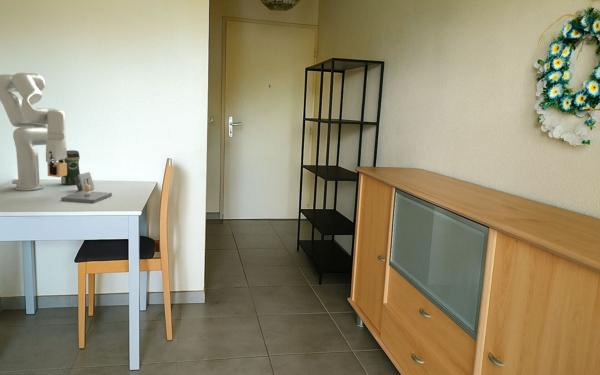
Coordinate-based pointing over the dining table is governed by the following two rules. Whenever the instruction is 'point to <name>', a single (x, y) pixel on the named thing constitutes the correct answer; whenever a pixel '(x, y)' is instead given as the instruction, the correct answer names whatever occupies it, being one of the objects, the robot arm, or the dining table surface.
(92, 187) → the electrical switch
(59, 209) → the dining table surface
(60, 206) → the dining table surface
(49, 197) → the dining table surface
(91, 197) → the plate
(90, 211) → the dining table surface
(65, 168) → the tan cardboard cube
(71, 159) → the coffee jar
